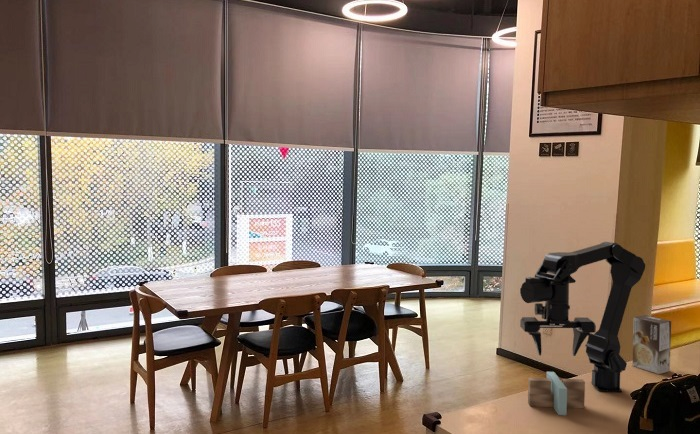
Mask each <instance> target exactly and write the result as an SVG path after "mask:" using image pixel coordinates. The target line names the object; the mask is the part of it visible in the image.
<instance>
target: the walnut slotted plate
mask: <svg viewBox="0 0 700 434" xmlns="http://www.w3.org/2000/svg"><path fill="white" fill-rule="evenodd" d="M527 379H528V382H527V385H528V388H527V404H528V406H529V407H548V408H554V394H553V392H551V380H550V379H549V378H546V377H528V378H527ZM561 381H562V383H563V384H564V385H565V387H566V388H567V408H569V409H570V408H571V409H572V408H573V409H574V408H575V409H585V398H586V395H585V394H586V393H585V392H586V382H585V380H583V379H582V378H581V379H578V378H561Z"/></svg>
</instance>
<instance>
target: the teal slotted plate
mask: <svg viewBox="0 0 700 434" xmlns="http://www.w3.org/2000/svg"><path fill="white" fill-rule="evenodd" d="M545 378H549V379H550V380H551V392H553V394H554V407H553V409H554V410H555V413H557V415H558V416H567V411H568V410H567V388H566V387H565V385H564V384H563V383H562V379H560V377H559V376H558V375H557V374H556V372H554V371H546V377H545Z"/></svg>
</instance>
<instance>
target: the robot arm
mask: <svg viewBox="0 0 700 434" xmlns="http://www.w3.org/2000/svg"><path fill="white" fill-rule="evenodd" d="M604 260H605V262H606V263H607V264H609V265H610V270H609V271H610V276H611V279H612V284H611V288H610V291H609V295H608V298H607V301H606V304H605V308H604V312H603V315H602V319H601V323H600V325H599V328H598V330H597V329H596V328H597V327H596V323H595V322H594V321H593V320H592V319H591V318H589V317H579V316H578V317H577V316H576V317H574V320H569V313H570V312H569V311H570V310H571V305H570V301H569V299H570V284H575V283H576V282H577V280H576V279H574V277H572V275H573V274H575V273H576V272H578V270H579V269H580V268H581V267H583V266H584V267H585V266H587V265H591V264H594V263H598V262H601V261H604ZM645 269H646V263H645V261H644V259H643V258H642V257H641V256H637V255H636V254H634V253H633V252H631V251H630V250H627V249H626V248H624V247H622V246H621V244H618V243H617V242H611V241H604V242H600V244H595V245H591V246H588V247H585V248H581V249H578V250H575V251H572V252H571V251H569V252H558V251H557V252H548V253H547V254H545V256H544V258H543V260H542V263H541V264H540V266H539V268H538V269H537V271H536V273H535V275H534V276H533V277H532V276H527V277H525V281H524V282H523V283H522V284H521V286H520V290H519V292H520V293H519V294H520V297H521V299H522V301H523V302H525V304H533V303H534V314H535V316H541V319H543V320H538V319H537V318H536V317H535V316H534V317H533V316H531V317H530V316H522V317H521V319H520V325H519V326H520V328H521V329H522V331H524V332H525V333H528V335H529V336H531V337H532V339H533V342H534V345H535V347H536V348H535V349H536V352H537V354H538V356H542V333H541V332H540V329H572V331H573V339H572V356H574V357H575V356H576V355H577V354H578V352H579V349H580V348H581V346H582V344H583V342H584V341H585V340H586V338H587V337H588V338H587V342H586V343H585V344H584V347H586V349H585V354H586V355H587V357H588V361H589V363H590V364H592V365H593V369H592V370H591V381H590V382H591V384H592V385H593V387H594V388H595V389H596V390H597V391H598V392H612V393H613V392H616V393H617V392H619V393H622V392H623V389H622V388H621V373H622V372H624V371H626V368H627V364H628V363H627V362H626V360H625V359H624V358H623V357H622V356H621V355H620V353H621V343H620V340H619V333H620V328H621V325H622V322H623V319H624V315H625V311H626V309H627V308H626V307H627V305H628V302H629V301H628V300H629V298H630V295H631V291H632V288H634V287H635V286H636V285H637V284H638V283H639V281H640V280H641V279H642V277H643V274H644V272H645ZM541 302H542V303H541ZM543 302H544V303H545V304H544V305H543Z"/></svg>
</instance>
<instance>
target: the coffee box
mask: <svg viewBox="0 0 700 434" xmlns="http://www.w3.org/2000/svg"><path fill="white" fill-rule="evenodd" d="M632 327H633V329H632V330H633V331H632V332H633V334H632V367H635V368H638V369H642V370H645V371H647V372H650V373H654V374H657V375H662V374H664V373H667V372H670V371H671V341H672V340H671V338H672V320H668V319H664V318H660V317H659V318H658V317H656V316H652V315H648V314H647V315H646V314H643V315H637V316H634V317H633V326H632Z"/></svg>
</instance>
